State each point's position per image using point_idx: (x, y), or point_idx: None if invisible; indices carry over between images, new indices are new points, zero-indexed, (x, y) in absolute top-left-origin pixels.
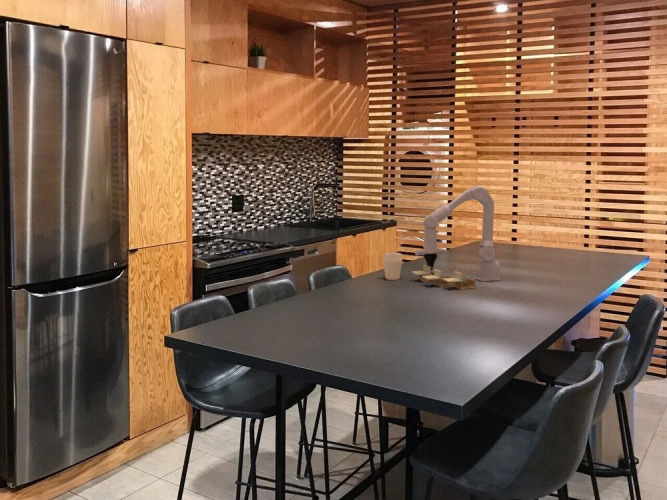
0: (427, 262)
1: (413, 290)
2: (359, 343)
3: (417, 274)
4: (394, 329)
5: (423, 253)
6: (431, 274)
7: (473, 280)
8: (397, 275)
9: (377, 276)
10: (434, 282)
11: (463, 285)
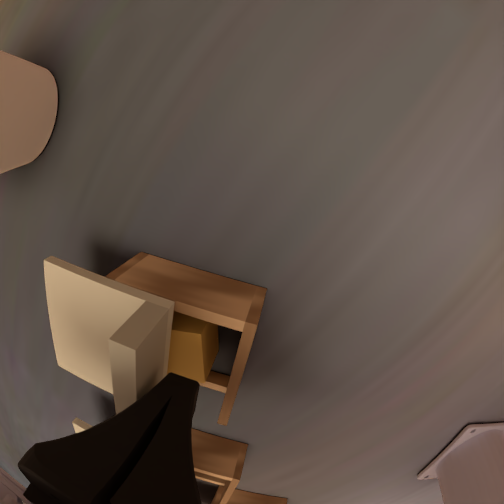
0: (124, 424)
1: (50, 414)
2: (3, 464)
3: (62, 362)
4: (24, 476)
5: (8, 493)
6: (196, 377)
7: None
8: (8, 170)
9: (24, 12)
10: None
11: (260, 499)
